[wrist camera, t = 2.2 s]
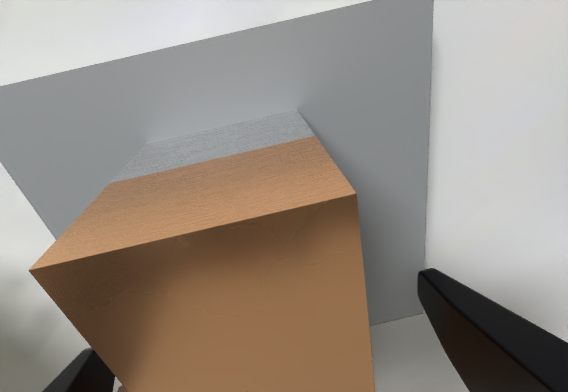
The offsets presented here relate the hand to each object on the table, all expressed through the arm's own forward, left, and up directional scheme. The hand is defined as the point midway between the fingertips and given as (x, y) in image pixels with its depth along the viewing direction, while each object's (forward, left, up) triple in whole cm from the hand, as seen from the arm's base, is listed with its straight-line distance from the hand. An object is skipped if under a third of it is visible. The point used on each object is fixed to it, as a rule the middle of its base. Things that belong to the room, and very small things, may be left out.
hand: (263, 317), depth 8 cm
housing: (0, 0, -4) cm, 4 cm away
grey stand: (0, 0, -6) cm, 6 cm away
